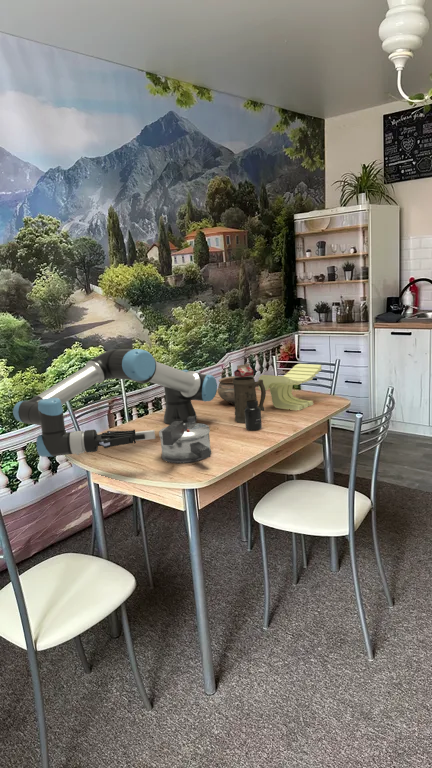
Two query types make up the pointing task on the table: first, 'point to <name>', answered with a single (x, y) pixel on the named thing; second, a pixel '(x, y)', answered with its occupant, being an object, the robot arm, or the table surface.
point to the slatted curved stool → (290, 386)
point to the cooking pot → (226, 389)
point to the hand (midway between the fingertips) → (154, 434)
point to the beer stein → (246, 395)
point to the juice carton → (243, 371)
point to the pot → (187, 450)
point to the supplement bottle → (253, 416)
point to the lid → (183, 431)
